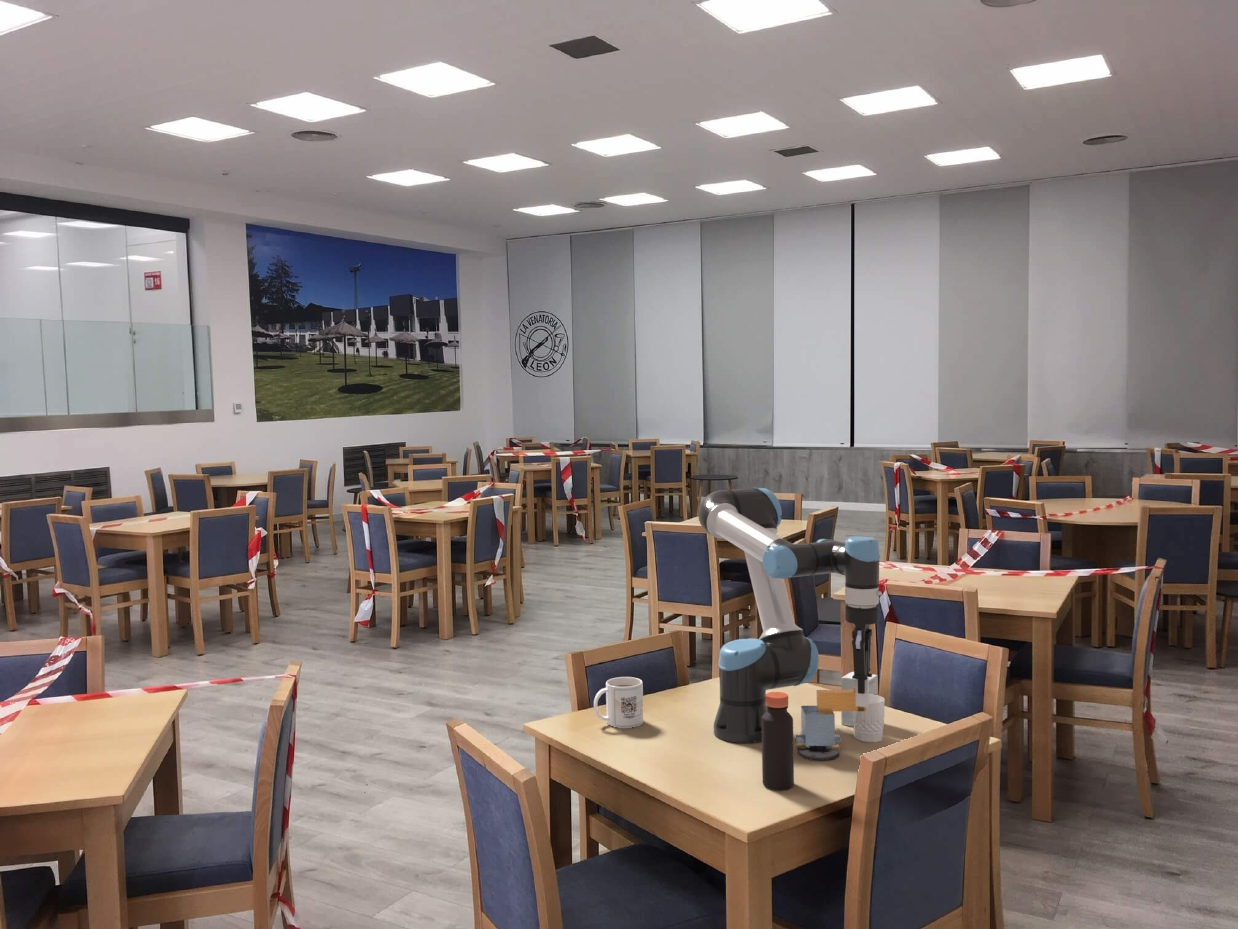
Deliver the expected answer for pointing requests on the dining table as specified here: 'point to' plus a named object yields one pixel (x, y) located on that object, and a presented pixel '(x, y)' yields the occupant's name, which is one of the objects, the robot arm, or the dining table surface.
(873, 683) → the supplement box
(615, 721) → the mug
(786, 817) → the dining table surface
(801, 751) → the dark grey cylinder
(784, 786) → the bottle
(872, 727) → the white cup
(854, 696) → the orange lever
